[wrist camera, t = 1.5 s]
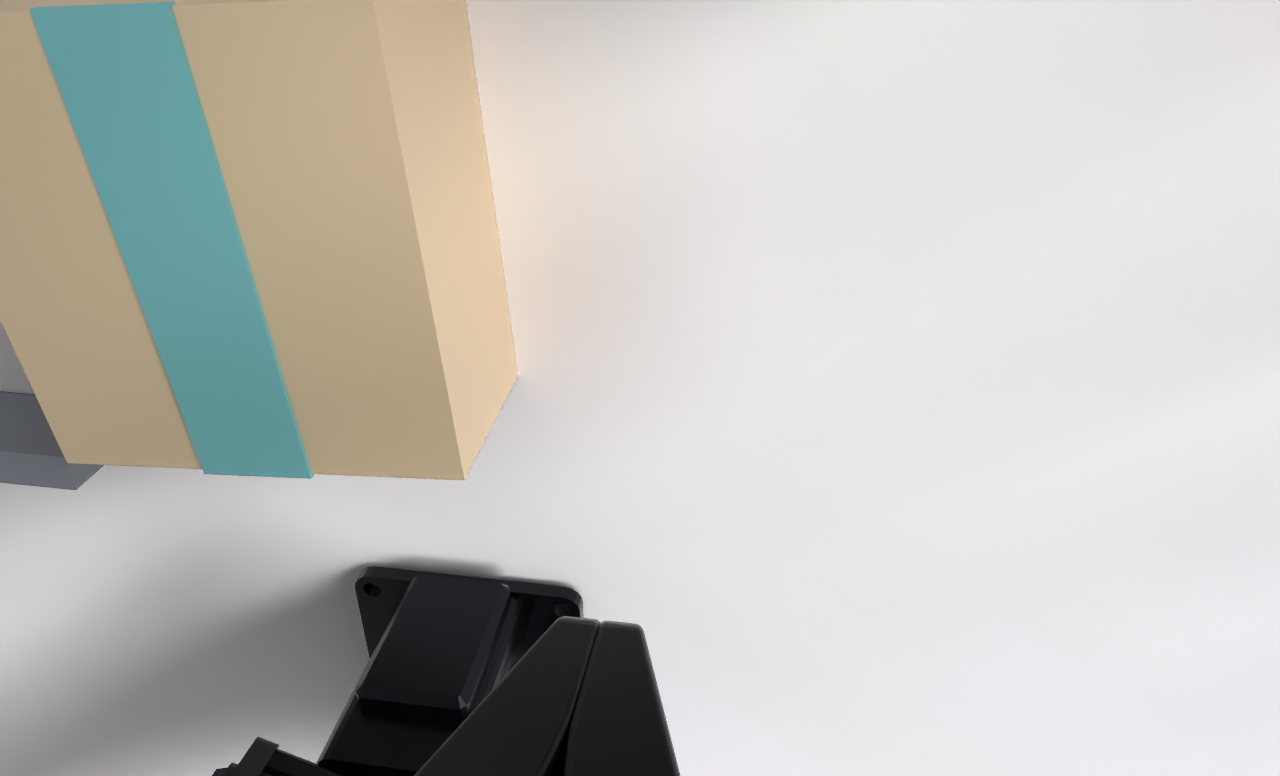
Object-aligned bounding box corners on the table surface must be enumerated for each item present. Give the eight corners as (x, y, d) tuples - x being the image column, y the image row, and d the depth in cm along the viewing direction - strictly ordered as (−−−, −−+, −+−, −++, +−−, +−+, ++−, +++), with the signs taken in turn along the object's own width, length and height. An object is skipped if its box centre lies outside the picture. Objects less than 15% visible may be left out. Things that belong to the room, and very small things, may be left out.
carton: (521, 372, 22) (463, 485, 18) (187, 364, 23) (64, 467, 19) (464, -37, 17) (368, -6, 13) (50, -18, 18) (-150, 15, 14)
